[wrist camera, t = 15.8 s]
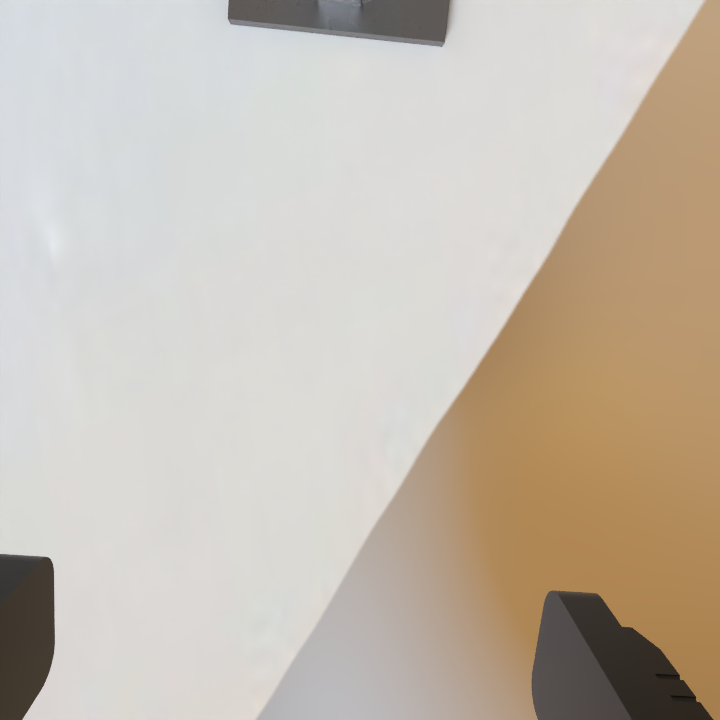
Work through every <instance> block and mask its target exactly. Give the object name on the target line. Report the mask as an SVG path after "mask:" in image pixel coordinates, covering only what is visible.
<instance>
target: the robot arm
mask: <svg viewBox="0 0 720 720" xmlns="http://www.w3.org/2000/svg"><path fill="white" fill-rule="evenodd" d="M54 646H55V627H54V569H53V564H52V561H51V559H50V558H48V557H39V556H23V555H8V554H0V720H22V719H23V717H24V716H25V714H26V713H27V711H28V710H29V708H30V706H31V705H32V703H33V702H34V700H35V699H36V697H37V695H38V694H39V692H40V691H41V689H42V687H43V686H44V683H45V681H46V679H47V676H48V674H49V671H50V667H51V664H52V660H53V654H54ZM532 696H533V703H534V708H535V712H536V715H537V718H538V720H713V719H712V717H711V716H710V715H709V713H708V712H707V711H706V710H705V708H704V707H703V705H702V704H701V703H700V702H697V701H696V696H695V695H694V694H693V692H692V691H691V690H690V688H689V687H688V686H687V684H686V683H685V682H684V680H680V675H679V674H678V672H677V671H676V670H675V668H674V667H673V666H672V664H671V663H670V662H669V660H668V659H667V658H666V656H665V655H664V654H663V653H662V651H661V650H660V649H659V648H658V647H656V646H655V645H654V644H652V643H651V642H650V641H648V640H647V639H646V638H645V637H643V636H642V635H641V634H639V633H638V632H637V631H636V630H634V629H633V628H630V627H621V625H620V624H619V622H618V621H617V619H616V618H615V616H614V615H613V614H612V612H611V611H610V610H609V608H608V607H607V605H606V604H605V602H604V601H603V599H602V598H601V597H600V596H599V595H598V594H596V593H583V592H565V591H550V592H549V593H548V594H547V596H546V599H545V602H544V607H543V613H542V619H541V625H540V631H539V637H538V642H537V648H536V654H535V660H534V665H533V672H532Z"/></svg>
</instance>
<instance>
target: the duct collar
mask: <svg viewBox="0 0 720 720" xmlns="http://www.w3.org/2000/svg"><path fill="white" fill-rule="evenodd" d="M448 8H449V0H229V7H228V20H229V22H230V24H234V25H243V26H253V27H262V28H272V29H281V30H290V31H300V32H309V33H319V34H328V35H337V36H347V37H356V38H366V39H375V40H384V41H394V42H403V43H413V44H422V45H431V46H441V47H442V46H443V44H444V43H445V35H446V26H447V17H448Z"/></svg>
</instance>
